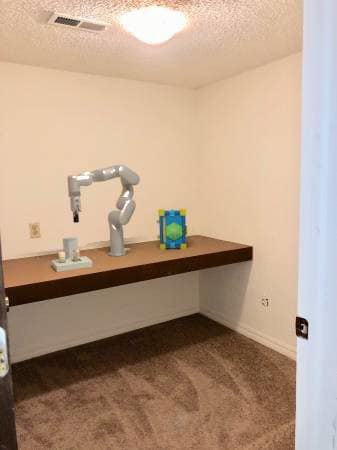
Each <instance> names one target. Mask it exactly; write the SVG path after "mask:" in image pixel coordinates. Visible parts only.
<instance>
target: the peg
mask: <svg viewBox="0 0 337 450" xmlns="http://www.w3.org/2000/svg"><path fill="white" fill-rule="evenodd" d="M80 255H81V254H80V250H79V249H78V250H73V262H76V261H80V257H81V256H80Z"/></svg>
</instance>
